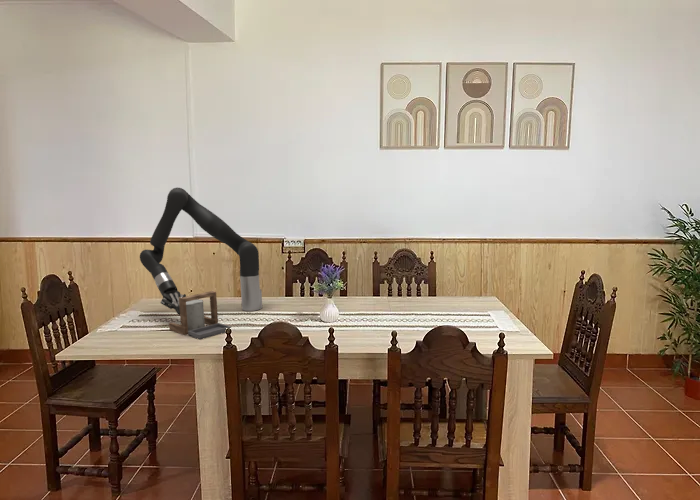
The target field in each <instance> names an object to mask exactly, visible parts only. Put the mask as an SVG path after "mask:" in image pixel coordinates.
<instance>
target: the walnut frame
mask: <svg viewBox="0 0 700 500" xmlns="http://www.w3.org/2000/svg"><path fill="white" fill-rule="evenodd" d="M205 298H209V304H210V317H209V316H206V315H204V322H205V325H206V326H209V325H213V324H217V323H219V315H218V314H219V313H218V300H217V291H214V290H211V291H205V292H201V293H196V294H192V295H186V297H182V298H179V307H180V315H179V316H180V324H178V323H175V322H169V323H168V326H169V327H168V328H169V331H171V332H175V333H178V334H181V335H182V336H183V335H184V336H188V323H187V310H186V302H188V301H192V300H197V299H199V300H202V299H205Z"/></svg>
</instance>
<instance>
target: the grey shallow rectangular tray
mask: <svg viewBox="0 0 700 500" xmlns="http://www.w3.org/2000/svg"><path fill="white" fill-rule="evenodd" d="M226 328H231V329H232V326H230V325H227V324H225V323H220V322H218V323H217V324H213V325H205V327H202V328H198V329H194V330H190V331H188V335H187V336H188V337H191V338H194V339H197V338H198V339H197V340H204V339H206V338H210V337H214V336H218V335H221V333H222V334H224V333H225V334H226V332H225V330H226ZM203 338H204V339H203Z"/></svg>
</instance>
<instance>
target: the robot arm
mask: <svg viewBox="0 0 700 500" xmlns="http://www.w3.org/2000/svg"><path fill="white" fill-rule="evenodd" d="M181 211H183V212H185V213H186V214H187V215H189V217H191V218H192V219H193V221H194V222H195V223H196V224H197V225H198V226H199V227H200V228H201V230H203V231H204V232H205V233H207V234H208V235H209V236H211V237H213V238H214V239H216V240H217V241H219V242H221V243H223V244H225V245H226V246H228V247H229V248H230V249H232V250H233V251H234V252H235V253H236V255H238V256H239V257H238V258H239V280H240V295H241V296H240V297H241V299H240V300H241V310H242V311H243V312H253V311H258V310H260V309H263V294H262V289H261V288H260V287H261V286H260V259H259V258H260V257H259V256H260V255H259V249H258V247H257V246H256V245H255V244H254V243H252V242H251V241H248V240H247V239H246V238H245V237H243V236H241V235H240V234H239V233H237V232H236V231H235V230H234V229H233V228H231V226H230V225H228V224H227V223H226V222H225V221H224V220H223V219H222V218H221V217H219V216H218V215H216V214H215V213H214V212H212V211H211V210H209V209H208V208H206V207H205V206H204V205H202V204H200V203H199V202H198V201H197V200H196V199H195V198H193V197H192V195H190V194H189V193H188V192H187V191H186V190H185V189H184V188H182V187H174V188H171V189H170V191H169V192H168V194H167V197H166V203H165V207H164V211H163V212H162V216H161V217H160V219H159V221H158V223H157V225H156V227H155V229H154V231H153V233H152V236H151V238H150V242H149V243H150V245H151V246H152V247H153V250H152V249H144V250H142V251H141V252H140V254H139V260H140V263H141V264H142V266H143V267H144V268H145V269H146V270H147V271H148V272H149V274H151V277H152V278H153V281H154V282H155V285H156V287H157V288H158V291H159V292H160V295H161V296H162V298H161V300H160V304H161V305H162V306H165V307H166V308H168V309H170V310H172V309H174V310H175V312H176V314H177V315H178V316H180V307H179V298H182V297H187V294H185V293H184V294H182V293H181V292H180V291H179V290H178V286H176V283H175V282H174V280H173V278H172V277H171V275H170V273H169V272H168V270H167V268H166V266H165V265H164V264H162V263H161V262H162V261H163V258H164V252H165V246H166V243H167V241H168V239H169V237H170V234H171V231H172V229H173V227H174V223H175V222H176V219H177V218H178V216H179V214H180V213H181Z"/></svg>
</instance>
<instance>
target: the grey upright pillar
mask: <svg viewBox="0 0 700 500" xmlns="http://www.w3.org/2000/svg"><path fill="white" fill-rule="evenodd" d="M186 310H187V323H188V331H190V330H194V329H198V328H202V327H206V324H205V322H204V316H205V310H204V300H202V299H197V300H192V301H188V302H186Z"/></svg>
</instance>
